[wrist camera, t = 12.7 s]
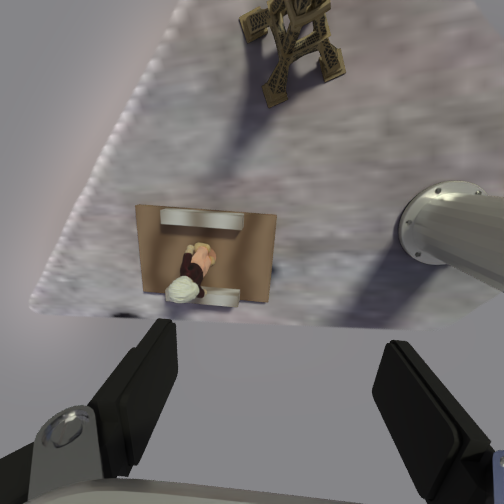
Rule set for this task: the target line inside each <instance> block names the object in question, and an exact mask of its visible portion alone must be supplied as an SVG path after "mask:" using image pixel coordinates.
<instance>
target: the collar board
mask: <svg viewBox="0 0 504 504" xmlns="http://www.w3.org/2000/svg"><path fill="white" fill-rule="evenodd" d="M135 209H136V220H137V230H138V240H139V251H140V261H141V271H142V282H143V291H145V292H156V293H165V296H166V301H171V300H170V297H169V292H168V290H169V286H170V284H172V282H173V281H174V280H176V279H177V278H179V277H181V276H180V267H181V264H182V260H183V255H184V253H185V251H186V250H187V246H188V245H193V246H194V245H195V244H196V243H204V244H208V245H209V246H210V248H211V251H210V252H209V253H208V256H212V257H213V258H214V259H215V264H214V265H212V266H210V267H209V269H208V271H207V273H206V275H205V276H204V278H203V280H202V283H201V285H200V286H201V288H202V289H205V290H207V295H206V296H204V297H203V298H197V297H195V299H192V300H191V301H189V302H186V303H194V304H205V305H217V306H228V307H238V304H239V300H247V301H258V302H268V299H269V290H270V280H271V270H272V260H273V250H274V240H275V230H276V220H277V215H272V214H259V213H246V212H232V211H219V210H206V209H193V208H179V207H166V206H153V205H140V204H139V205H135ZM194 254H195V252H194V251H193V255H194ZM193 255H192V257H193ZM172 302H173V301H172Z"/></svg>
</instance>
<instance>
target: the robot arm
mask: <svg viewBox="0 0 504 504" xmlns="http://www.w3.org/2000/svg"><path fill="white" fill-rule="evenodd" d="M406 221H407V222H406ZM399 239H400V243H401V245H402V247H403V249H404V250H405V251H406V252H407V253H408V254H409V255H410V256H411V257H413V258H414V259H416V260H418V261H420V262H422V263H425V264H430V265H443V264H448V265H450V266H452V267H454V268H456V269H458V270H460V271H462V272H464V273H466V274H468V275H470V276H472V277H474V278H476V279H478V280H480V281H482V282H484V283H486V284H488V285H490V286H492V287H494V288H496V289H498V290H500V291H502V292H504V197H495V196H488V195H487V193H486V192H485V191H484V190H483V189H481V188H480V187H479V186H477V185H475V184H472V183H470V182H464V181H447V182H442V183H438V184H435V185H433V186H431V187H429V188H427V189H425V190H424V191H422V192H421V193H419V194H418V195H417V196H416V197H415V198H414V199H413V200H412V201H411V202H410V203H409V205H408V206H407V207H406V209H405V211H404V213H403V214H402V217H401V220H400V223H399ZM177 359H178V358H177V339H176V324H175V323H172V320H171V319H161V318H158V319H157V320H156V321H155V323H154V324H153V325H152V327H151V328H150V330H149V331H148V332H147V334H146V335H145V336H144V338H143V339H142V340H141V342H140V343H139V344H138V346H137V347H136V348H135V347H134V348H132V349H130V351H129V352H128V353H127V354H126V356H125V357H124V358H123V359H122V361H121V362H120V363H119V365H118V366H117V367H116V369H115V370H114V371H113V372H112V374H111V375H110V376H109V378H108V379H107V380H106V382H105V383H104V384H103V385H102V387H101V388H100V389H99V390H98V392H97V393H96V394H95V396H94V397H93V398H92V400H91V401H90V402H89V403H88V405H87V406H84V405H78V406H73V407H70V408H67V409H65V410H63V411H61V412H59V413H57V414H56V415H54V416H53V417H52V418H50V419H49V420H48V421H47V422H46V423H45V424H44V425H43V426H42V427H41V429H40V430H39V432H38V433H37V435H36V438H35V441H34V442H32V443H30V444H28V445H26V446H24V447H22V448H21V449H19V450H17V451H15V452H13V453H11V454H9V455H7V456H5V457H3V458H1V459H0V504H361V503H353V502H345V501H336V500H328V499H319V498H311V497H302V496H294V495H284V494H277V493H268V492H259V491H250V490H241V489H232V488H223V487H214V486H205V485H196V484H187V483H177V482H165V481H154V480H143V479H120V478H117V476H125V477H128V476H129V473H130V471H131V469H132V467H133V465H138V463H139V461H140V459H141V457H142V455H143V453H144V451H145V448H146V446H147V444H148V441H149V439H150V437H151V434H152V432H153V429H154V428H155V426H156V423H157V421H158V419H159V416H160V414H161V412H162V409H163V407H164V405H165V403H166V400H167V398H168V396H169V394H170V391H171V389H172V387H173V385H174V382H175V380H176V377H177V374H178V360H177ZM372 395H373V398H374V401H375V403H376V405H377V407H378V409H379V411H380V413H381V415H382V418H383V420H384V422H385V424H386V426H387V428H388V430H389V432H390V434H391V436H392V439H393V441H394V443H395V445H396V447H397V449H398V451H399V453H400V456H401V458H402V460H403V462H404V464H405V466H406V468H407V470H408V473H409V475H410V477H411V479H412V481H413V483H414V485H415V487H416V489H417V491H418V493H419V495H420V496H421V497H422V498H423V499H425V500H426V502H427V504H504V450H498V451H496V452H495V451H494V449H493V448H492V447H491V446H490V443H491V441H490V440H489V439H488V437H487V436H486V435H485V434H484V432H483V431H482V430H481V429H480V428H479V426H478V425H477V424H476V423H475V422H474V420H473V419H472V418H471V417H470V416H469V415H468V413H467V412H466V411H465V410H464V408H463V407H462V406H461V405H460V404H459V402H458V401H457V400H456V399H455V398H454V396H453V395H452V394H451V393H450V392H449V391H448V389H447V388H446V387H445V386H444V385H443V383H442V382H441V381H440V380H439V378H438V377H437V376H436V375H435V374H434V373H433V372H432V370H431V369H430V368H429V366H428V365H427V364H426V363H425V362H424V360H423V359H422V358H421V357H420V356H419V354H418V353H417V352H416V351H415V350H414V348H413V347H412V346H411V345H410V344H409V343H408V342H407V341H399V340H391V341H390V343H387V344H386V346H385V349H384V353H383V356H382V359H381V362H380V365H379V369H378V372H377V375H376V378H375V382H374V385H373V388H372Z"/></svg>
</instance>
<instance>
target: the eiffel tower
mask: <svg viewBox="0 0 504 504" xmlns="http://www.w3.org/2000/svg"><path fill="white" fill-rule="evenodd" d="M267 5H268V8H267V9H261V8H260V6H259V7H257V8H255V9H253V10H252V11H250V12H248V13H246V14H244V15H242V16H241V17H239V19H240V22H241V25H242V28H243V31H244V34H245V37H246V41H247V44H248V43H250V42H252V41H253V40H255V39H257V38H259V37H261V36H263V35H265V34H267V33H268V30H267V27H269V26H270V28H271V31H272V33H273V36H274V39H275V43H276V47H277V51H278V55H279V62H278V64H277V66H276V68H275V69H274V71H273V73H272V75H271V77H270V78H269V80H268V82H267V83H265V85H263V86H262V89H263V93H264V96H265V99H266V102H267V105H268V108H271V107H273V106H275V105H277V104H279V103H281V102H284V101H286V100H288V98H287V93H286V83H287V76H288V68H289V65H290V64H291V63H293V62H294V61H296V60H297V59H299V58H300V57H302V56H304V55H306V54H309V53H312V52H315V51H319V53H320V55H321V57H319V62H320V66H321V70H322V74H323V78H324V82H327V81H329V80H331V79H333V78H336V77H338V76H340V75H342V74H344V73H346V70H345V65H344V61H343V57H342V52H341V48H339V49H338V48H336V47H334V46H333V45H332V44H331V43H330V41H329V39H328V37H329V36H331V33H330V30H329V26H328V23H327V18H326V14H325V13H326V12H327V11H329V10H330V9H331V4H330V0H269V1H267ZM286 14H288V17H289V19H290V23H289V27H288V30H287V33H286V30H285V26H284V22H283V16H285V15H286ZM311 21H312V22H313V27H314V29H313V32H312V33H311V34H309V35H307V36H305V37H303V38H301V39H299V40H297V38H298V36H299V33H300V30H301V28H302V26H304V25H306V24H308V23H309V22H311Z"/></svg>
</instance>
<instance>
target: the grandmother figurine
mask: <svg viewBox="0 0 504 504" xmlns="http://www.w3.org/2000/svg"><path fill="white" fill-rule="evenodd" d="M193 251H194V252H195V254H194V255H193ZM210 251H211V248H210V246H209V245H208V244H204V243H196V244H195V245H194V246H193V245H188V246H187V250H186V251H185V253H184V255H183V260H182V264H181V267H180V276H181V277H179V278H177V279H176V280H174V281H173V282H172V284H170V286H169V290H168V292H169V297H170V300H171V301H173V302H175V303H186V302H189V301H191V300H192V299H195V297H197V298H203V297H204V296H206V295H207V290H205V289H202V288H201V286H200V285H201V283H202V280H203V278H204V276H205V275H206V273H207V271H208V269H209V267H210V266H212V265H214V264H215V259H214V258H213V257H212V256H208V253H209V252H210ZM192 255H193V257H192Z"/></svg>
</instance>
